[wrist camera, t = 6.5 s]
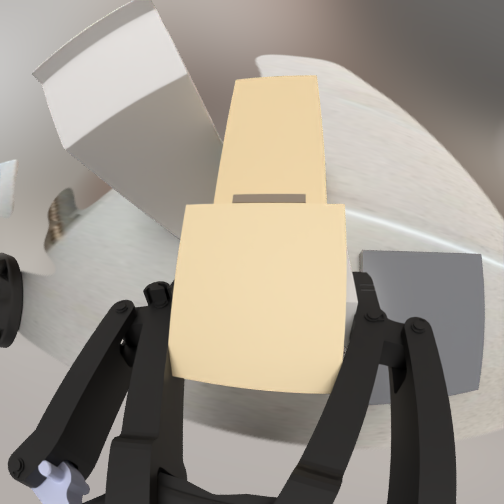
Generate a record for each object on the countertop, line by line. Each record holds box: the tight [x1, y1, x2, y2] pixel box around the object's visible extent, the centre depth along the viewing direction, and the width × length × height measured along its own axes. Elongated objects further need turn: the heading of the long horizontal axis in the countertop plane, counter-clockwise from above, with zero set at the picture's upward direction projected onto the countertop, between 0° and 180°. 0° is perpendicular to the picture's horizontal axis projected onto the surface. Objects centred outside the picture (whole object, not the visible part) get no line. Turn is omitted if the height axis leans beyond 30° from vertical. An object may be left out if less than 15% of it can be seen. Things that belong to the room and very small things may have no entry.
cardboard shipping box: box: [214, 76, 327, 204], centre depth 18 cm, size 5×9×11 cm, turn 175°
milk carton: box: [32, 0, 223, 239], centre depth 16 cm, size 7×7×19 cm
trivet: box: [360, 250, 485, 405], centre depth 18 cm, size 12×12×1 cm
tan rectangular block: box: [168, 203, 347, 394], centre depth 14 cm, size 6×6×11 cm
